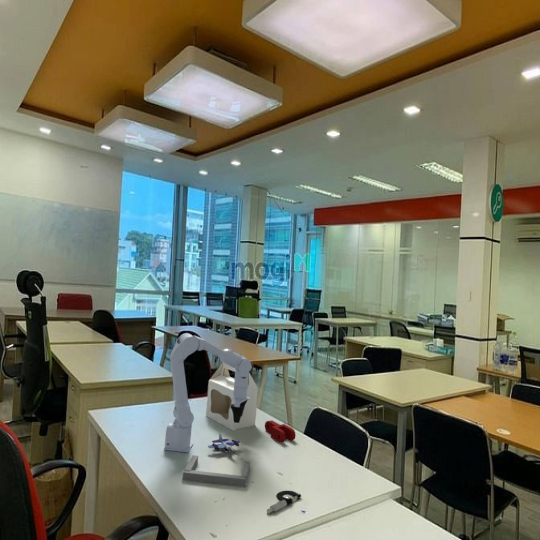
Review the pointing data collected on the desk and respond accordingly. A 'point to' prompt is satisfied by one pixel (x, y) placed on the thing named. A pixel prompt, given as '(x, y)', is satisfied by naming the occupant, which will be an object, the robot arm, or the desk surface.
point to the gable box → (229, 399)
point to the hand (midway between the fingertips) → (238, 419)
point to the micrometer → (283, 501)
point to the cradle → (215, 475)
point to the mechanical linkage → (279, 431)
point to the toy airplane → (224, 444)
